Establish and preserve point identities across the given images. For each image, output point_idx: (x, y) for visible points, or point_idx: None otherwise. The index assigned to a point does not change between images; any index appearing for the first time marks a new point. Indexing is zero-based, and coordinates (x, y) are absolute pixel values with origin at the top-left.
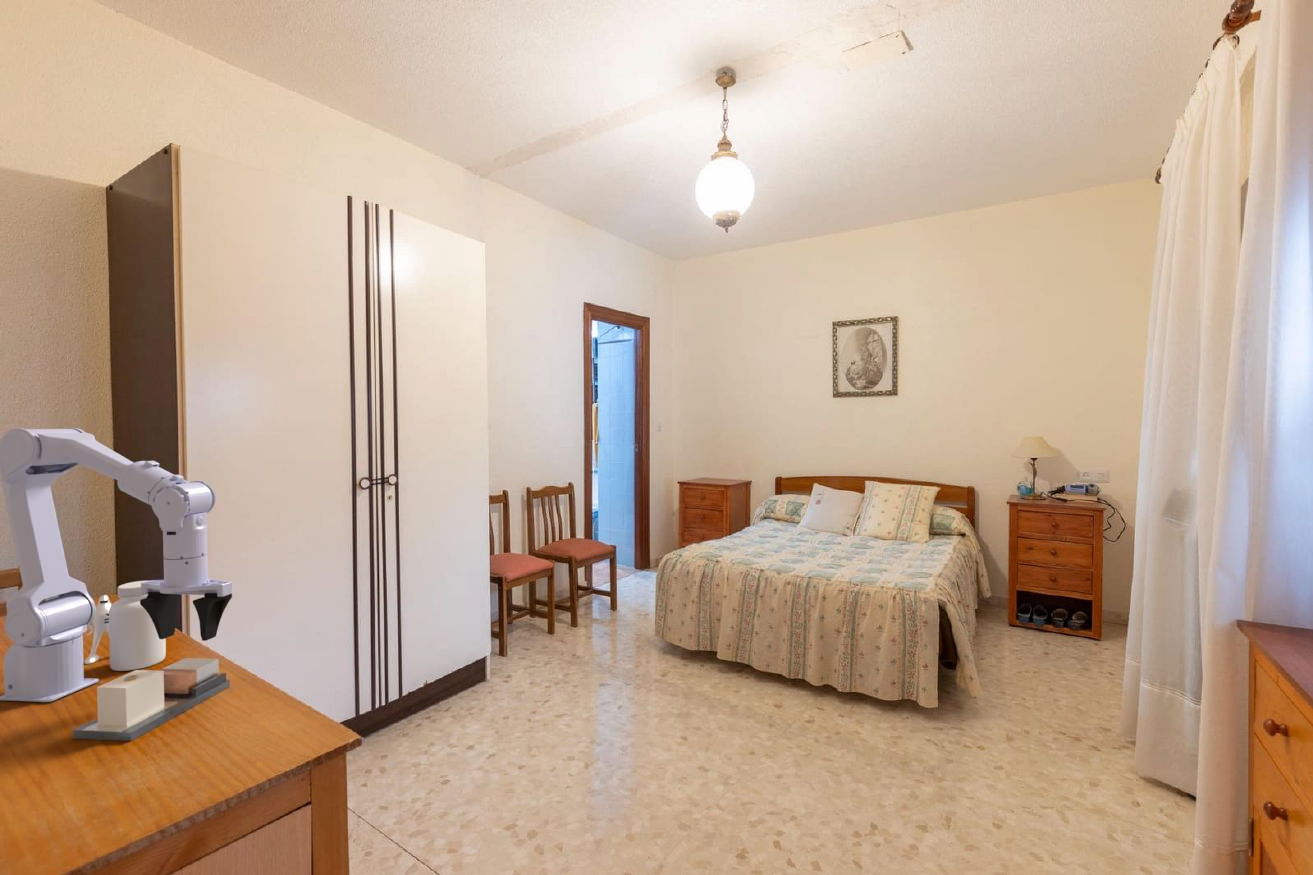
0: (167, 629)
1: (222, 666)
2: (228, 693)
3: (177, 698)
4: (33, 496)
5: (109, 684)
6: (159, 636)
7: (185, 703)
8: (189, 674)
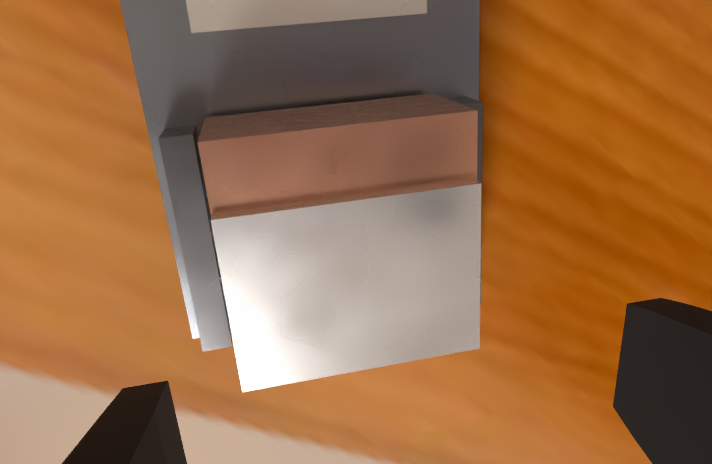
0: (681, 402)
1: (444, 457)
2: (121, 259)
3: (247, 81)
4: None
5: None
6: (676, 306)
7: (128, 32)
8: (203, 158)
